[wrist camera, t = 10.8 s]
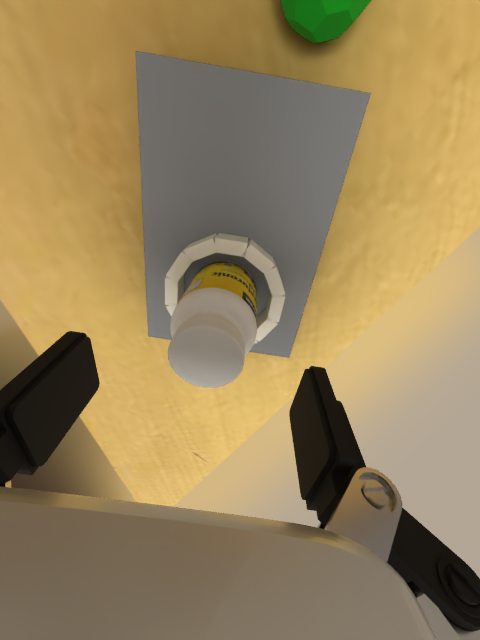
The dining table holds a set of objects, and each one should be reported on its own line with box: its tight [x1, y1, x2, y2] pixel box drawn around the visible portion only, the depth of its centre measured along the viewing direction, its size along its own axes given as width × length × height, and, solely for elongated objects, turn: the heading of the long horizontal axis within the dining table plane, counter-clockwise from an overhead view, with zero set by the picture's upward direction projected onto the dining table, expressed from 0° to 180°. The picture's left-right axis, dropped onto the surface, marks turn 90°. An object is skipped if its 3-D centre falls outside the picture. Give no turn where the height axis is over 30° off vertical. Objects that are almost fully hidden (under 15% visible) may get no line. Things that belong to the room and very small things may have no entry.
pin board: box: [136, 51, 371, 358], centre depth 19 cm, size 20×14×4 cm
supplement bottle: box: [168, 260, 257, 388], centre depth 17 cm, size 5×5×10 cm
